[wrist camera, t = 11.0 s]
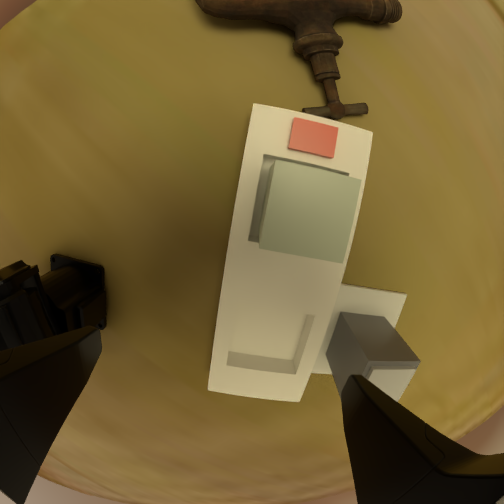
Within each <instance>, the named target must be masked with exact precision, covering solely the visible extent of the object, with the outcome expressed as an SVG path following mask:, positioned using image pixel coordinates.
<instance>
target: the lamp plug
mask: <svg viewBox="0 0 504 504" xmlns="http://www.w3.org/2000/svg"><path fill="white" fill-rule="evenodd" d="M360 186H361V180H360V179H357V178H353V177H349V176H345V175H342V174H338V173H334V172H330V171H326V170H321V169H317V168H313V167H308V166H304V165H299V164H295V163H290V162H285V161H280V160H275V161H274V162H273V164H272V165H271V166H270V171H269V176H268V181H267V187H266V192H265V198H264V203H263V208H262V214H261V219H260V225H259V249H264V250H270V251H275V252H281V253H286V254H292V255H297V256H303V257H309V258H314V259H320V260H325V261H331V262H336V263H342V264H343V261H344V257H345V253H346V249H347V245H348V241H349V237H350V233H351V228H352V224H353V220H354V215H355V210H356V206H357V201H358V196H359V191H360Z"/></svg>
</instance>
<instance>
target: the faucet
mask: <svg viewBox="0 0 504 504" xmlns="http://www.w3.org/2000/svg"><path fill="white" fill-rule="evenodd" d="M195 1H196V2H197V4H198V5H199V6H200V7H201V9H202V10H203V11H204V12H205V13H207V14H210V15H212V16H214V17H220V18H225V19H231V20H246V19H255V20H264V21H268V22H271V23H275V24H280V25H285V26H286V27H288V28H289V29H291V30H293V31H294V32H295V42H294V43H293V48H294V50H295V51H296V52H297V53H299V54H303V56H304V58H305V59H306V60H311V63H312V67H313V71H314V74H315V78H316V81H317V82H323V83H324V87H325V91H326V95H327V100H328V105H327V106H324V107H311V108H303V110H302V113H306V114H311V115H315V116H319V117H331V118H333V119H341V118H342V117H343V116H344V115H355V114H367V113H368V106H367V104H366V103H357V104H346V105H343V104H342V103H341V102H340V100H339V96H338V92H337V88H336V84H335V80H338V79H340V74H339V70H338V67H337V63H336V60H335V56H337V55H338V54H339V51H338V49H339V48H341V47H342V45H343V40H342V37H341V36H339V35H338V34H337V33H336V31H335V30H334V29H333V26H332V25H333V23H334V21H335V20H336V19H339V18H341V17H345V16H358V17H361V18H362V19H364V20H372V21H373V22H375V23H380V24H384V23H386V22H390V23H394V22H397V21H399V19H400V18H401V16H402V7H401V4H400V2H399V1H398V0H195Z"/></svg>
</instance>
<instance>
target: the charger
mask: <svg viewBox="0 0 504 504" xmlns="http://www.w3.org/2000/svg"><path fill="white" fill-rule="evenodd" d="M325 355H326V357H327V360H328V363H329V366H330V369H331V372H332V374H333V377H334V380H335V383H336V386H337V389H338V392H339V395H340V398H341V392H342V389H343V387H344V385H345V383H346V381H347V379H348V377H349V376H350V375H351V374H360V375H362V376H364V377H365V378H366V379H367V380H369V381H370V382H371V383H373V384H374V385H375V386H377V387H378V388H379V389H381V390H382V391H383V392H385V393H386V394H387V395H389V396H390V397H391V398H393V399H394V400H395V401H397V402H398V400H399V399H400V397H401V395H402V394H403V392H404V390H405V389H406V387H407V385H408V384H409V382H410V380H411V378H412V376H413V375H414V373H415V371H416V369H417V367H418V365H419V363H420V360H419V358H418V357H417V356H416V355H415V353H414V352H413V351H412V350H411V348H410V347H409V346H408V345H407V343H406V342H405V341H404V340H403V339H402V337H401V336H400V335H399V334H398V332H397V331H396V330H395V329H394V328H393V326H392V325H391V324H390V323H389V322H388V320H387V319H386V318H385V317H383V316H374V315H365V314H357V313H349V312H341V311H340V314H339V317H338V320H337V323H336V326H335V329H334V332H333V335H332V338H331V340H330V343H329V346H328V349H327V351H326V354H325Z"/></svg>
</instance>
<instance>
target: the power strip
mask: <svg viewBox="0 0 504 504" xmlns="http://www.w3.org/2000/svg"><path fill="white" fill-rule="evenodd" d="M372 136H373V132H370V131H367V130H364V129H361V128H358V127H355V126H351V125H348V124H345V123H341V122H338V121H334V120H330V119H327V118H323V117H319V116H315V115H311V114H306V113H302V112H297V111H293V110H288V109H283V108H278V107H272V106H267V105H261V104H253V109H252V114H251V119H250V124H249V129H248V135H247V140H246V145H245V151H244V156H243V162H242V167H241V173H240V178H239V184H238V190H237V195H236V201H235V207H234V213H233V219H232V225H231V231H230V237H229V243H228V249H227V255H226V262H225V268H224V275H223V281H222V288H221V295H220V301H219V308H218V315H217V322H216V329H215V337H214V344H213V351H212V359H211V367H210V374H209V382H208V390H210V391H215V392H221V393H227V394H233V395H239V396H246V397H254V398H262V399H271V400H281V401H293V402H300V399H301V397H302V394H303V392H304V389H305V387H306V384H307V382H308V379H309V377H310V374H311V372H312V369H313V366H314V364H315V361H316V358H317V356H318V353H319V350H320V347H321V345H322V342H323V339H324V336H325V333H326V330H327V327H328V324H329V321H330V318H331V315H332V312H333V309H334V305H335V302H336V299H337V296H338V292H339V289H340V285H341V282H342V278H343V275H344V271H345V268H346V264H347V260H348V256H349V252H350V248H351V244H352V240H353V236H354V232H355V228H356V223H357V219H358V214H359V210H360V205H361V200H362V195H363V190H364V185H365V179H366V174H367V168H368V162H369V156H370V149H371V143H372ZM275 160H280V161H285V162H290V163H295V164H299V165H304V166H308V167H313V168H317V169H321V170H326V171H330V172H334V173H338V174H342V175H345V176H349V177H353V178H357V179H360V180H361V186H360V191H359V196H358V201H357V206H356V210H355V215H354V220H353V224H352V228H351V233H350V237H349V241H348V245H347V249H346V253H345V257H344V261H343V264H342V263H336V262H331V261H325V260H320V259H314V258H309V257H303V256H297V255H292V254H286V253H281V252H275V251H270V250H264V249H259V225H260V219H261V214H262V208H263V203H264V198H265V192H266V187H267V181H268V176H269V171H270V166H271V165H272V164H273V162H274V161H275Z"/></svg>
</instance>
